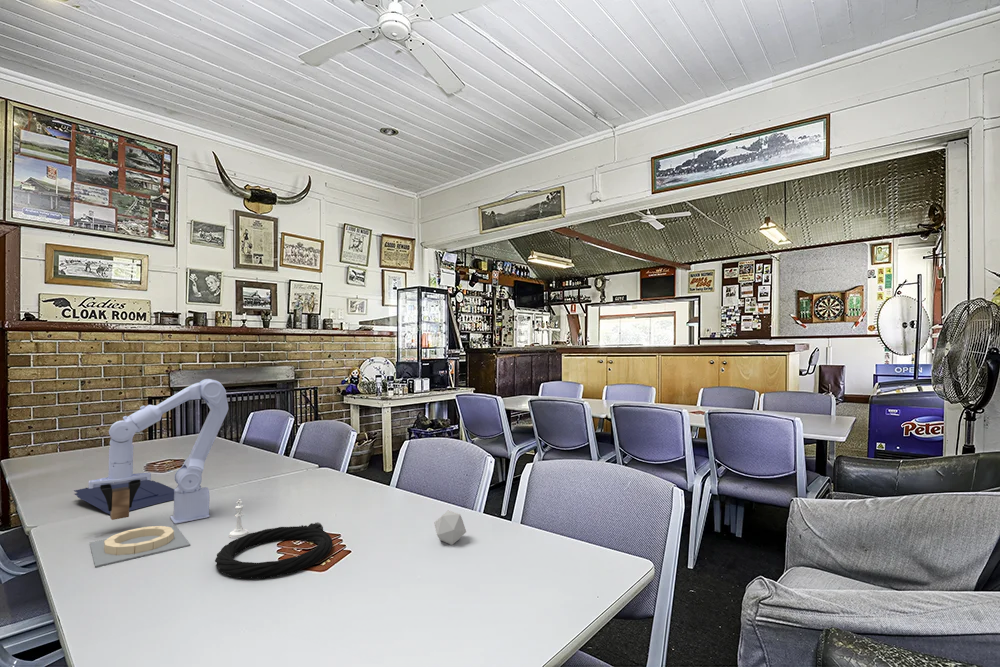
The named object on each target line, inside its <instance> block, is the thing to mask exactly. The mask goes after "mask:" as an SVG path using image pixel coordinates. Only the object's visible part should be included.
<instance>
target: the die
mask: <svg viewBox="0 0 1000 667" xmlns="http://www.w3.org/2000/svg"><path fill="white" fill-rule="evenodd" d="M434 528H435V533H436V536H437V538H438V540H439V541H441V542H443V543H446V544H447V545H451V546H453V545H454V544H455V543H457V541H458V540H460V539H461V537H463V536H464V535H465V534H466V533H467V530H466V526H465V522H464V521H463V518H462V515H461V514H460V513H458V512H455V511H451V510H447V511H445V512H444V513H443V514H442V515H441V516H440V517H439V518H438V519H436V521H434Z"/></svg>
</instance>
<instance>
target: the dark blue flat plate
mask: <svg viewBox="0 0 1000 667" xmlns="http://www.w3.org/2000/svg"><path fill="white" fill-rule="evenodd" d="M140 482H141V484H140V487H139V488H138V490H137V492H136V494H135V496H134V499H133V502H132V507H130V508H129V512H131V511H134V510H138V509H141V508H145V507H149V506H153V505H157V504H163V503H165V502H166V503H167V502H171V501H174V490H175V489H176V488H172V487H171V486H168V485H166V484H164V483H161V482H159V481H155V480H152V479H151V480H142V481H140ZM128 483H129V482H128ZM128 483H121V484H115V485H111V488H112V489H116V488H123V487H128V488H129V485H128ZM73 491H74V492H75V493H74V495H75V496H76V497H77V498H78V499H80V500H82V501H84V502H86V503H88V504H90V505H92V506H94V507H96V508H97V509H99V510H101V511H102V512H104V513H106V514H108V515H110V511H108V505H107V501H106V498H105V496H104V494H103V493H102V491H101V489H100V487H94V488H91V489H89V488H88V487H85V488H80V489H75V490H73Z"/></svg>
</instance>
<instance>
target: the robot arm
mask: <svg viewBox="0 0 1000 667" xmlns="http://www.w3.org/2000/svg"><path fill="white" fill-rule="evenodd" d="M201 399H203V400H204V401H205V403H206V405H207V406H208V408H209V412H208V414H207V416H206V418H205V421H204V423H203V425H202V426H201V430H200V431H199V434H198V436H197V438H196V439H195V442H194V444H193V446H192V449H191V451H190V453H189V455H188V457H187V458H186V459H185V461H184V462H183V464H182V466H181V467H180V468H179V469H177V471H176V472H175V473H174V481H175V483H176V484H177V485H176V487H175V488H174V489H175V490H174V500H173V515H170V516H169V518H170V520H171V521H172V523H173V524H174V525H176V524H177V525H178V524H181V523H187V522H190V521H191V522H192V521H196V520H203V519H206V518H210V489H209V487H207V486H204V487H202V486H201V484H202V474H203V472H204V468H205V463H206V460H207V457H208V456H209V453H210V451H211V449H212V446H213V445H214V442H215V440H216V438H217V436H218V433H219V432H220V429H221V427H222V425H223V422H224V421H225V418H226V416H227V414H228V411H229V402H228V398H227V390H226V389H225V387H224V386H223V384H222V383H221V382H220V381H218V380H216V379H211V378H205V379H202V380H201V381H199V382H195V383H192V384H191V385H189V386H187V387H185V388H183V389H182V390H180V391H179V392H178V391H177V393H175V394H174V395H172V396H170V397H167V399H165V400H163V401H161V402H159V403H158V404H156V405H154V404H147V405H141V406H139V409H138V410H137V411H135V412H133V413H131V414H130V415H128V416H127V415H124V416H122V420H118V421H115V422H114V423H112V424H111V426H110V427H109V430H108V434H109V436H110V441H109V448H108V473H107V474H108V475H107V477H101V478H97V479H91V480H90V479H89V480H88V486H87V488H89V489H91V488H94V487H100V489H101V491H102V493H103V494H104V496H105V498H106V501H107V505H108V511H112V502H111V497H112V488H111V485H115V484H121V483H128V482H129V483H128V485H129V489H130V496H129V508H130V507H132V502H133V499H134V496H135V494H136V492H137V490H138V488H139V487H140V484H141V482H140V481H142V480H151V481H152V473H151V472H150V471H149V472H140V473H139V472H138V473H134V444H133V437H134V436H135V434H136V433H141V432H143V431H144V430H146V429H148V428H149V427H151V426H153V425H154V424H156V423H158V422H160V421H161V419H162V416H163V414H165V413H167V412H169V411H171V410H173V409H175V408H176V407H178V406H180V405H181V404H184V403H185V402H188V401H192V400H201Z"/></svg>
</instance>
